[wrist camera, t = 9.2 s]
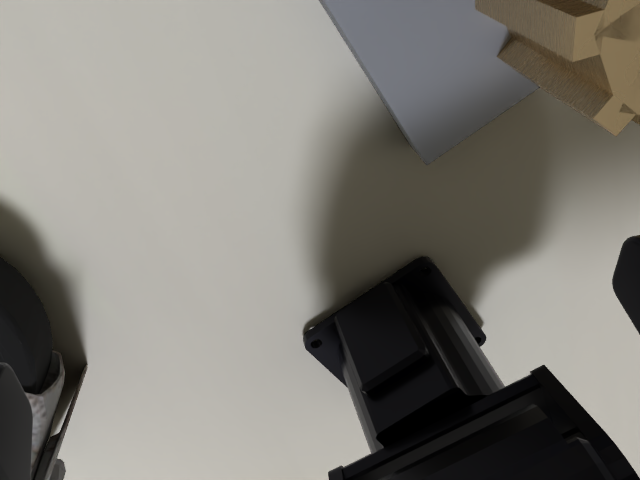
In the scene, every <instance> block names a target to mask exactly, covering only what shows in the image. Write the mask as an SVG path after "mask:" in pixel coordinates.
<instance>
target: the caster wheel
mask: <svg viewBox="0 0 640 480" xmlns="http://www.w3.org/2000/svg"><path fill="white" fill-rule="evenodd" d="M1 362H3V363H7V364H8V365H9V366H10V367H11V368H12V369H13V371H14V373H15V375H16V377H17V379H18V380H19V382H20V384H21V386H22V388H23V390H24V392H25V394H26V396H27V398H28V399H29V402H30V404H31V407H32V413H33V433H32V458H31V480H63V479H64V475H65V472H66V470H65V465H64V462H63V461H62V460H61V459H57V456H58V453H59V450H60V447H61V444H62V441H63V438H64V435H65V432H66V429H67V426H68V423H69V421H70V418H71V415H72V412H73V409H74V406H75V403H76V400H77V397H78V394H79V391H80V388H81V385H82V382H83V379H84V377H85V374H86V371H87V365H86V366H85V367H84V370H83V372H82V375H81V378H80V380H79V383H78V385H77V388H76V391H75V393H74V396H73V399H72V401H71V404H70V407H69V409H68V412H67V415H66V417H65V420H64V423H63V425H62V428H61V430H60V432H59V433H58V434H56V435H54V436H52V437H50V439H49V436H50V432H51V428H52V423H53V418H54V415H55V412H56V408H57V405H58V401H59V398H60V395H61V391H62V388H63V384H64V377H65V370H64V365H63V360H62V355H61V353H59V352H58V351H54V350H52V334H51V329H50V323H49V320H48V318H47V315H46V312H45V310H44V307H43V305H42V302H41V301H40V299H39V298H38V296H37V295H36V293H35V292H34V290H33V289H32V287H31V286H30V284H29V283H28V282H27V281H26V280H25V279H24V277H23V276H22V275H21V274H20V273H19V272H18V271H17V270H16V269H15V268H14V267H13V266H11V265H10V264H9V263H7V262H6V261H5V260H4V259H2V258H1V257H0V363H1ZM48 439H49V441H48ZM47 441H48V443H47ZM46 444H47V446H46ZM45 447H46V448H45ZM44 449H45V450H44Z"/></svg>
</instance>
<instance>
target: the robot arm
mask: <svg viewBox="0 0 640 480" xmlns="http://www.w3.org/2000/svg"><path fill="white" fill-rule="evenodd" d="M425 267H427V268H426V269H425V270H423V271H420V270H421V269H422V268H425ZM612 284H613V289H614V292H615V294H616V296H617V298H618V299H619V301H620V303H621V304H622V306H623V308H624V309H625V311H626V313H627V314H628V316H629V318H630V319H631V321H632V323H633V324H634V326H635V327H636V329H637V331H638V332H639V334H640V235H637V236H632V237H630V238H628V239H627V240H626V241H625V242H624V243H623V245H622V248H621V251H620V255H619V258H618V261H617V265H616V268H615V271H614V275H613V279H612ZM316 339H318V340H317V341H315V342H312V341H313V340H316ZM485 341H486V335H485V334H484V332H483V331H482V329H481V328H480V327H479V325H478V324H477V322H476V321H475V320H474V318H473V317H472V315H471V314H470V313H469V311H468V310H467V308H466V307H465V305H464V304H463V303H462V301H461V300H460V298H459V297H458V296H457V294H456V293H455V291H454V290H453V289H452V287H451V286H450V284H449V283H448V282H447V280H446V279H445V277H444V276H443V275H442V273H441V272H440V270H439V269H438V268H437V266H436V265H435V263H434V262H433V261H432V259H430V258H429V257H420V258H418V259H416V260H414V261H413V262H411V263H410V264H408V265H407V266H405V267H404V268H402V269H401V270H399V271H398V272H396V273H395V274H393V275H392V276H390V277H389V278H387V279H386V280H384V281H383V282H381V283H380V284H378V285H377V286H375V287H374V288H372V289H371V290H369V291H368V292H366V293H365V294H363V295H362V296H360V297H359V298H357V299H356V300H354V301H353V302H351V303H350V304H348V305H347V306H345V307H344V308H342V309H341V310H339V311H338V312H336V313H335V314H333V315H332V316H330V317H329V318H327V319H326V320H324V321H323V322H321V323H320V324H318V325H317V326H315V327H314V328H312V329H311V330H309V331H308V332H307V333H305V335H304V337H303V342H304V345H305V348H306V350H307V351H308V352H309V353H311V354H312V355H313V356H314V357H315V358H316V359H317V360H318V361H319V362H320V363H321V364H323V365H324V366H325V367H326V368H327V369H328V370H329V371H330V372H331V373H332V374H333V375H334V376H336V377H337V378H338V379H339V380H340V381H341V382H342V383H343V384H344V385H345V386H346V387H347V388H348V389H349V392H350V395H351V398H352V401H353V403H354V406H355V409H356V412H357V415H358V417H359V420H360V423H361V426H362V429H363V431H364V434H365V437H366V440H367V443H368V446H369V448H370V451H371V454H369V455H367V456H365V457H363V458H361V459H359V460H357V461H355V462H353V463H351V464H349V465H347V466H345V467H343V466H342V465H341V466H339V467H337V468H335V469H333V470H331V471H329V472H328V476H329V480H640V478H639V477H638V475H637V474H636V472H635V471H634V469H633V468H632V466H631V465H630V463H629V462H628V461H627V459H626V458H625V456H624V455H623V454H622V452H621V451H620V450H619V448H618V447H617V446H616V444H615V443H614V442H613V441H612V440H611V438H610V437H609V436H608V435H607V434H606V432H605V431H604V430H603V429H602V428H601V427H600V426H599V425H598V424H597V423H596V421H595V420H594V419H593V418H592V417H591V416H590V415H589V414H588V413H587V412H586V410H585V409H584V408H583V407H582V406H581V405H580V404H579V403H578V402H577V400H576V399H575V398H574V397H573V396H572V395H571V394H570V393H569V392H568V391H567V389H566V388H565V387H564V386H563V385H562V384H561V383H560V382H559V381H558V380H557V378H556V377H555V376H554V375H553V374H552V373H551V372H550V371H549V370H548V369H547V367H546V366H545V365H542V366H540V367H538V368H536V369H534V370H532V371H530V373H531V374H530V375H528V376H526V377H524V378H522V379H520V380H518V381H516V382H514V383H512V384H510V385H508V386H506V387H505V386H504V384H503V383H502V381H501V380H500V378H499V377H498V375H497V373H496V372H495V370H494V369H493V367H492V366H491V364H490V362H489V361H488V359H487V358H486V356H485V355H484V353H483V352H482V350H481V348H480V346H482V345H483V344H484V343H485ZM32 433H33V413H32V407H31V404H30V402H29V399H28V398H27V396H26V394H25V392H24V390H23V388H22V386H21V384H20V382H19V380H18V379H17V377H16V375H15V373H14V371H13V369H12V368H11V367H10V366H9V365H8V364H7V363H3V362H1V363H0V480H31V458H32Z"/></svg>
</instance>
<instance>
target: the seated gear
mask: <svg viewBox="0 0 640 480" xmlns="http://www.w3.org/2000/svg"><path fill="white" fill-rule="evenodd" d="M475 10H477V11H479V12H481V13H483V14H485V15H486V16H488V17H490V18H492V19H494V20H496V21H498V22H499V23H501V24H503V25H505V26H506V27H507V30H508V32H509V34H510V37H511V38H510V39H509V41H508V42H507V43H506V45H505V46H504V47H503V49H502V50H501V51H500V53H499V54H498V55H497V57H498V58H499V59H500V60H502V61H503V62H504V63H506V64H507V65H508V66H510V67H511V68H512V69H513V70H515V71H516V72H517V73H519V74H521V75H522V76H524V77H525V78H527V79H528V80H530V81H531V82H533V83H534V84H536V85H537V86H539V87H541V88H542V89H544V90H545V91H547V92H548V93H550V94H551V95H553V96H554V97H556V98H557V99H559V100H561V101H562V102H564V103H565V104H567V105H568V106H570V107H571V108H573V109H574V110H576V111H577V112H579V113H581V114H582V115H584V116H585V117H587V118H588V119H590V120H591V121H593V122H594V123H596V124H598V125H599V126H601V127H602V128H604V129H605V130H607V131H608V132H610V133H611V134H613V135H614V136H617V135H618V134H619V133H620V132H621V131H622V129H623V128H624V127H625V126H626V125H627V124H628V123H629V122H630V121H631V120H633V121H634V122H636V123H638V124H639V125H640V0H475Z"/></svg>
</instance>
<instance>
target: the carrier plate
mask: <svg viewBox="0 0 640 480" xmlns="http://www.w3.org/2000/svg"><path fill="white" fill-rule="evenodd" d="M319 1H320V3H321V4H322V6H323V7H324V9H325V10H326V12H327V14H328V15H329V17H330V18H331V20H332V22H333V23H334V25H335V26H336V28H337V30H338V31H339V33H340V34H341V36H342V37H343V39H344V41H345V42H346V44H347V45H348V47H349V49H350V50H351V52H352V53H353V55H354V57H355V58H356V60H357V61H358V63H359V64H360V66H361V68H362V69H363V71H364V72H365V74H366V76H367V77H368V79H369V80H370V82H371V84H372V85H373V87H374V88H375V90H376V91H377V93H378V95H379V96H380V98H381V99H382V101H383V103H384V104H385V106H386V107H387V109H388V111H389V112H390V114H391V115H392V117H393V118H394V120H395V122H396V123H397V125H398V126H399V128H400V130H401V131H402V133H403V134H404V136H405V138H406V139H407V141H408V142H409V144H410V146H411V147H412V148H413V149H414V151H415V152H416V153H417V154H418V155H419V157H420V158H421V159H422V160H423V161H424V163H425V164H426V165H428V164H430V163H431V162H432V161H434V160H435V159H437V158H438V157H440V156H441V155H443V154H444V153H445V152H447V151H448V150H450V149H451V148H453V147H454V146H456V145H457V144H458V143H460V142H461V141H463V140H464V139H466V138H467V137H469V136H470V135H471V134H473V133H474V132H476V131H477V130H479V129H480V128H482V127H483V126H485V125H486V124H487V123H489V122H490V121H492V120H493V119H495V118H496V117H498V116H499V115H500V114H502V113H503V112H505V111H506V110H508V109H509V108H511V107H512V106H513V105H515V104H516V103H518V102H519V101H521V100H522V99H524V98H525V97H526V96H528V95H529V94H531V93H532V92H534V91H535V90H537V89H538V88H539V86H537V85H536V84H534V83H533V82H531V81H530V80H528V79H527V78H525V77H524V76H522V75H521V74H519V73H517V72H516V71H515V70H513V69H512V68H511V67H510V66H508V65H507V64H506V63H504V62H503V61H502V60H500V59H499V58H498V57H497V55H498V54H499V53H500V51H501V50H502V49H503V47H504V46H505V45H506V43H507V42H508V41H509V39H510V38H511V37H510V34H509V32H508V30H507V27H506V26H505V25H503V24H501V23H499V22H498V21H496V20H494V19H492V18H490V17H488V16H486V15H485V14H483V13H481V12H479V11H477V10H475V0H319Z"/></svg>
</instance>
